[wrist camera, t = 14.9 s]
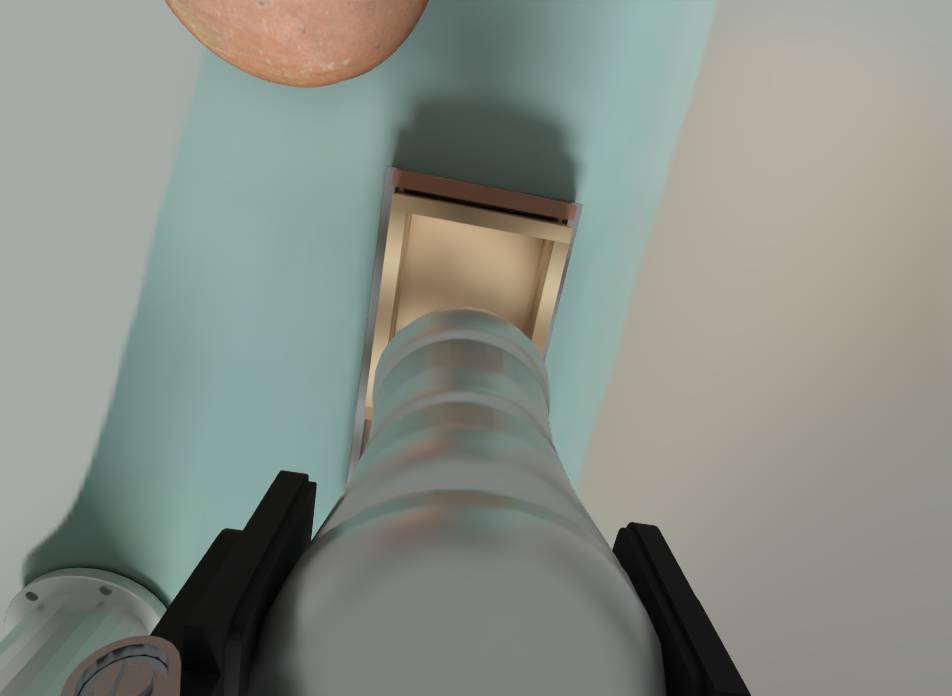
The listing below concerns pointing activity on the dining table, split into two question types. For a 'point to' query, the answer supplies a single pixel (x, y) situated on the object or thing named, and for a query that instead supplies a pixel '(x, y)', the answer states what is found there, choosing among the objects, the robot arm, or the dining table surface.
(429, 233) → the box
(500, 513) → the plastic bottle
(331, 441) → the dining table surface
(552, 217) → the wooden tray
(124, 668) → the robot arm
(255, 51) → the ceramic jug
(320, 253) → the dining table surface
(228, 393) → the dining table surface
